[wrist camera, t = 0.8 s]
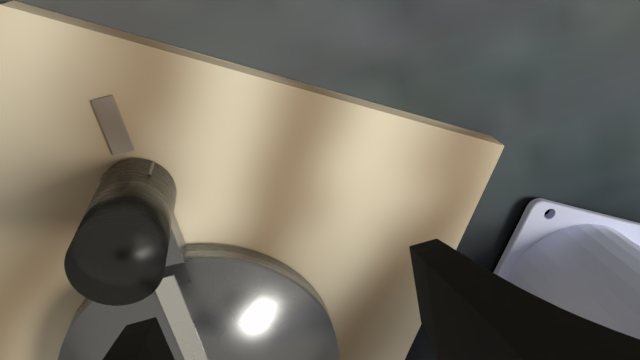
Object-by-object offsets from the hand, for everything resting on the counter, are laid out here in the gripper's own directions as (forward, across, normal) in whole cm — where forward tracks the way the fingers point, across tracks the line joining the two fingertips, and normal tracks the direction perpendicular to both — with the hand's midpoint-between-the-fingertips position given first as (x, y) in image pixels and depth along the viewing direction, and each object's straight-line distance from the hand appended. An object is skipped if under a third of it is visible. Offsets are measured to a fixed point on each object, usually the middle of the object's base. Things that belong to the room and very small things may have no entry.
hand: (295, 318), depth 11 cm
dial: (+9, +4, +6) cm, 12 cm away
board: (+10, +4, +8) cm, 14 cm away
